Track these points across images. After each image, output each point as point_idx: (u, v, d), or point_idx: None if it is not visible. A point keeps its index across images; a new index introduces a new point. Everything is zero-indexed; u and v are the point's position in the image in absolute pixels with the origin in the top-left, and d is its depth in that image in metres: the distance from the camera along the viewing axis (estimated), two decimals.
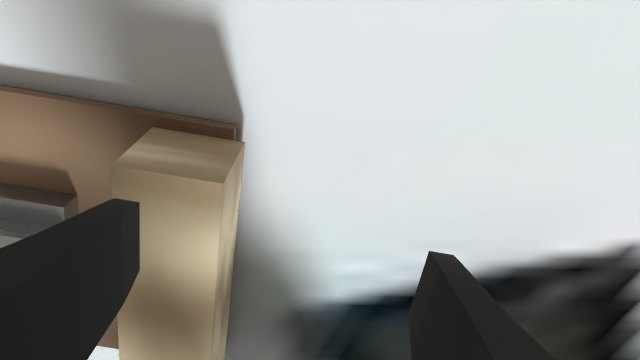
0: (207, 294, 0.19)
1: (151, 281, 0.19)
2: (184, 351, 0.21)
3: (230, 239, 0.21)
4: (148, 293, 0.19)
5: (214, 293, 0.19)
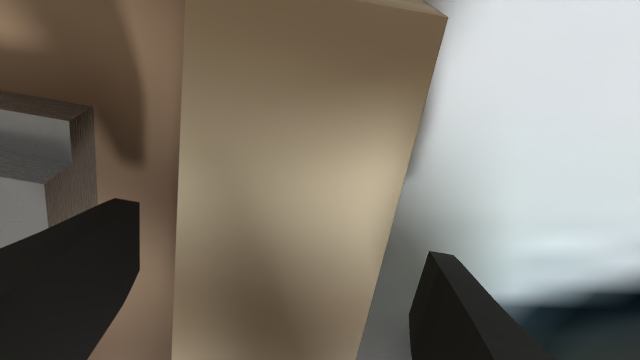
0: (362, 281, 0.09)
1: (249, 254, 0.09)
2: None
3: None
4: (240, 280, 0.10)
5: (375, 280, 0.09)
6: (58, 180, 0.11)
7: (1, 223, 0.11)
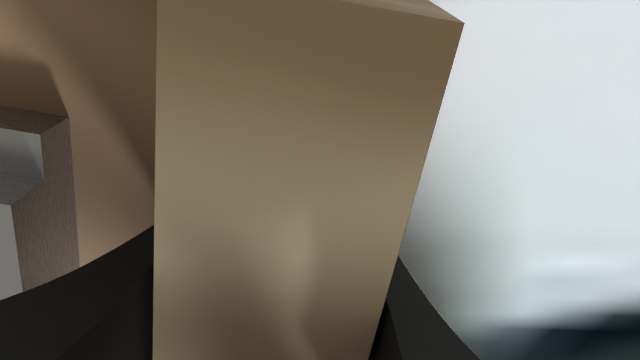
0: (363, 318, 0.08)
1: (236, 287, 0.08)
2: None
3: None
4: (226, 316, 0.09)
5: (378, 316, 0.08)
6: (28, 199, 0.10)
7: None
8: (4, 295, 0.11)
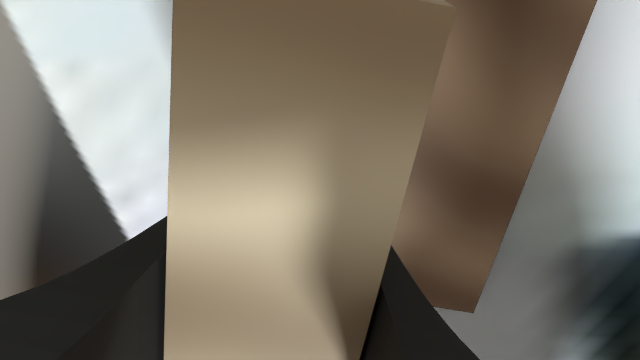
0: (363, 288, 0.09)
1: (245, 259, 0.09)
2: None
3: None
4: (234, 286, 0.09)
5: (377, 286, 0.09)
6: None
7: None
8: None
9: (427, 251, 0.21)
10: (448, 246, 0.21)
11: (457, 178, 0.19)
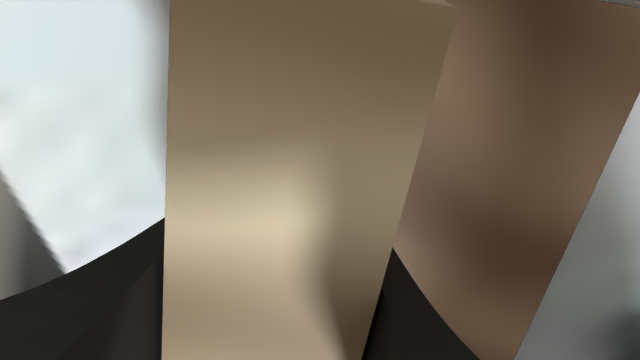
0: (363, 292, 0.09)
1: (242, 263, 0.09)
2: None
3: None
4: (233, 291, 0.09)
5: (378, 291, 0.09)
6: None
7: None
8: None
9: (446, 319, 0.17)
10: (471, 314, 0.17)
11: (484, 236, 0.16)
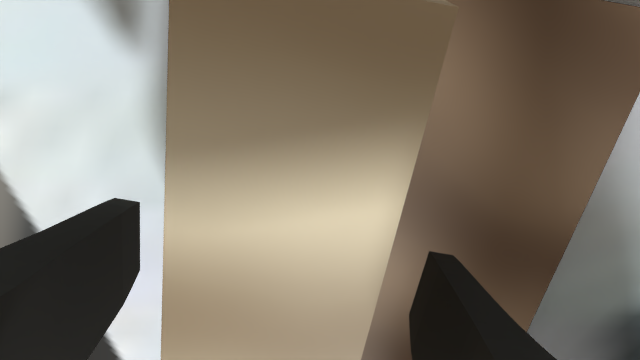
0: (363, 292, 0.09)
1: (242, 263, 0.09)
2: None
3: None
4: (232, 291, 0.09)
5: (377, 291, 0.09)
6: None
7: None
8: None
9: None
10: None
11: (485, 235, 0.16)
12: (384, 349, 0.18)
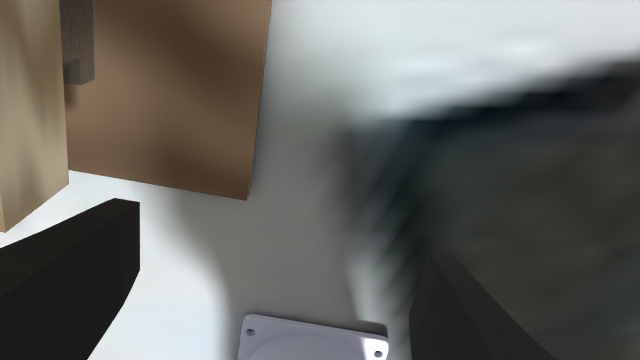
0: None
1: None
2: None
3: None
4: None
5: None
6: None
7: None
8: None
9: (187, 130, 0.21)
10: (206, 124, 0.21)
11: (198, 47, 0.20)
12: (145, 162, 0.22)
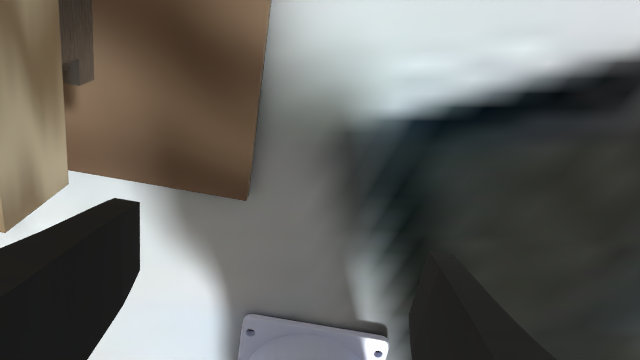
0: None
1: None
2: None
3: None
4: None
5: None
6: None
7: None
8: None
9: (186, 130, 0.21)
10: (205, 124, 0.21)
11: (197, 48, 0.20)
12: (145, 162, 0.22)
